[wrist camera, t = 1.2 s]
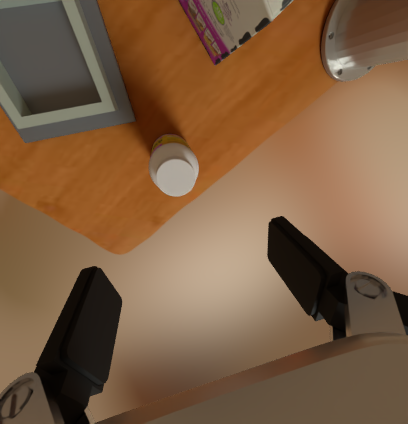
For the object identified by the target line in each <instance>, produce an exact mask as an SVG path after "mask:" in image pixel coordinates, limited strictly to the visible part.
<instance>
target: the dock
mask: <svg viewBox="0 0 408 424" xmlns="http://www.w3.org/2000/svg"><path fill="white" fill-rule="evenodd" d="M0 106H1V108H2V109H3V111H4V112H5V114H6V115H7V117H8V118H9V120H10V121H11V123H12V124H13V126H14V127H15V129H16V130H17V132H18V133H19V135H20V136H21V138H22V139H23V141H24V142H25V143H28V142H33V141H38V140H43V139H48V138H54V137H59V136H64V135H69V134H74V133H79V132H84V131H89V130H94V129H99V128H104V127H109V126H114V125H119V124H124V123H129V122H134V121H136V118H135V115H134V112H133V109H132V106H131V103H130V100H129V97H128V94H127V91H126V88H125V85H124V81H123V78H122V75H121V72H120V69H119V66H118V63H117V60H116V57H115V54H114V51H113V48H112V45H111V42H110V39H109V36H108V32H107V29H106V26H105V23H104V20H103V17H102V14H101V11H100V8H99V5H98V2H97V0H0Z"/></svg>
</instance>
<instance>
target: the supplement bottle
mask: <svg viewBox="0 0 408 424" xmlns="http://www.w3.org/2000/svg"><path fill="white" fill-rule="evenodd" d="M198 171H199V166H198V161H197V158H196V157H195V155H194V153H193V152H192V150H191V149H190V147H189V145H188V144H187V143H186V141H185V140H184V139H183V138H181V137H180V136H178V135H175V134H165V135H162V136H161V137H159V138H158V139H157V140H156V141H155V142H154V144H153V147H152V151H151V156H150V161H149V173H150V176H151V178H152V180H153V182H154V183H155V184H156V185H157V186H158V187H159V188H160V190H161V191H162V192H164V193H165V194H167V195H170V196H182V195H184V194H186V193H188V192H189V191H190V190H191V189H192V188H193V186H194V184H195V180H196V178H197V176H198Z"/></svg>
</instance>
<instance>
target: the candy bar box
mask: <svg viewBox="0 0 408 424" xmlns="http://www.w3.org/2000/svg"><path fill="white" fill-rule="evenodd" d="M292 1H293V0H179V2H180V4H181V6H182V7H183V9H184V11H185V13H186V15H187V16H188V18H189V20H190V22H191V23H192V25H193V27H194V29H195V31H196V32H197V34H198V36H199V38H200V40H201V41H202V43H203V45H204V47H205V48H206V50H207V52H208V54H209V56H210V57H211V59H212V61H213V63H214V65H217V64H218V63H220V62H221V61H222V60H223V59H225V58H226V57H227V56H228V55H230V54H231V53H232V52H233V51H235V50H236V49H237V48H239V47H240V46H241V45H242V44H244V43H245V42H246V41H248V40H249V39H250V38H251V37H253V36H254V35H255V34H256V33H257V32H259V31H260V30H262V29H263V28H264V27H266V26H267V25H268V24H269V23H270V22H271V21H272V20H273V19H274V18H275V17H276V16H277V15H279V14H280V13H281V12H282V11H283V10H284V9H285V8H286V7H287V6H288V5H289V4H290V3H291V2H292Z"/></svg>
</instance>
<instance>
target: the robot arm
mask: <svg viewBox="0 0 408 424" xmlns="http://www.w3.org/2000/svg"><path fill="white" fill-rule="evenodd" d="M321 55H322V61H323V65H324V68H325V70H326V72H327V73H328V74H329V75H330V77H331V78H333V79H335V80H337V81H351V80H355V79H358V78H360V77H362V76H364V75H365V74H367V73H368V72H369V71H370V70H371V69H372V68H374V67H375V66H376V65H380V64H386V63H391V62H396V61H402V60H407V59H408V0H336V1H335V2H334V4H333V6H332V8H331V10H330V12H329V15H328V17H327V20H326V23H325V26H324V30H323V35H322V41H321ZM267 255H268V259H269V261H270V262H271V264H272V265H273V267H274V268H275V270H276V271H277V272H278V274H279V275H280V277H281V278H282V280H283V281H284V282H285V284H286V285H287V287H288V288H289V290H290V291H291V292H292V294H293V295H294V297H295V298H296V299H297V301H298V302H299V304H300V305H301V307H302V308H303V309H304V311H305V312H306V313H307V314H308V315H309V316H310V315H311V316H312V317H313V318H314V320H315V321H318V320H321V319H325V320H326V322H327V323H328V324H329V325H330V342H328V343H325V344H322V345H319V346H315V347H312V348H309V349H306V350H303V351H300V352H297V353H294V354H291V355H288V356H285V357H283V358H280V359H277V360H274V361H271V362H268V363H265V364H262V365H259V366H256V367H253V368H250V369H248V370H245V371H242V372H239V373H236V374H233V375H230V376H227V377H224V378H222V379H219V380H216V381H213V382H210V383H207V384H204V385H201V386H198V387H195V388H193V389H190V390H187V391H184V392H181V393H178V394H175V395H173V396H170V397H167V398H164V399H161V400H158V401H155V402H153V403H150V404H147V405H144V406H141V407H139V408H136V409H133V410H130V411H127V412H124V413H122V414H119V415H116V416H113V417H110V418H108V419H105V420H102V421H100V422H97V423H96V422H95V420H94V418H93V416H92V414H91V412H90V410H89V408H88V402H89V397H90V396H92V395H95V394H98V393H101V392H102V391H103V386H104V383H106V381H107V379H108V376H109V370H110V366H111V360H112V355H113V349H114V344H115V339H116V334H117V328H118V323H119V318H120V312H121V307H122V299H121V297H120V295H119V294H118V292H117V291H116V289H115V288H114V286H113V285H112V284H111V282H110V281H109V280H108V278H107V276H106V275H105V274H104V272H103V271H102V269H101V268H97V267H96V266H93V267H89V268H85V269H83V270H81V272H80V274H79V276H78V278H77V280H76V282H75V284H74V287H73V289H72V291H71V293H70V296H69V297H68V299H67V301H66V304H65V305H64V308H63V310H62V312H61V314H60V316H59V318H58V320H57V322H56V324H55V327H54V329H53V331H52V333H51V335H50V337H49V339H48V341H47V343H46V345H45V348H44V350H43V352H42V354H41V356H40V358H39V360H38V363H37V364H36V366H37V367H36V369H35V371H34V373H33V372H31V373H26V374H24V375H22V376H20V377H18V378H17V379H16V380H14V381H13V382H12V383H10V385H8V386H7V387H6V388H5V389H4V390H3V392H2V393H1V394H0V424H408V296H406V295H403V294H400V293H396V292H393V291H392V290H391V289H390V287H389V286H388V285H387V284H386V283H385V282H384V281H383V280H381V279H380V278H378V277H376V276H374V275H372V274H369V273H366V272H360V271H357V272H351V273H349V274H348V273H347V272H346V271H345V270H344V269H342V268H341V267H340V266H339V265H338V264H337V263H336V262H335V261H334V260H332V259H331V258H330V257H329V256H328V255H327V254H326V253H325V252H323V251H322V250H321V249H320V248H319V247H318V246H317V245H316V244H314V243H313V242H312V241H311V240H310V239H309V238H308V237H306V236H305V235H303V234H302V233H301V232H300V231H299V230H298V229H297V228H295V227H294V226H293V225H292V224H291V223H290V222H289V221H288V220H287V219H286V218H284V217H283V216H280V217H276V218H273V219H271V222H269V228H268V254H267Z"/></svg>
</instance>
